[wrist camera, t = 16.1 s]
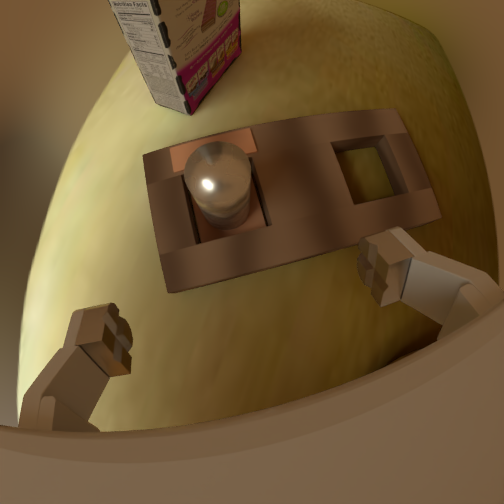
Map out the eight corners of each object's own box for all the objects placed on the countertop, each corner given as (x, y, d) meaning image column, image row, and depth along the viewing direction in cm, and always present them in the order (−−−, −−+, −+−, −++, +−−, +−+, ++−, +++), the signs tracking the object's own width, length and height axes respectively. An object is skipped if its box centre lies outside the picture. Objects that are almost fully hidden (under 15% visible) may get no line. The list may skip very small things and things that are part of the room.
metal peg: (209, 236, 24) (192, 210, 16) (198, 193, 25) (178, 151, 17) (255, 222, 24) (259, 191, 16) (242, 180, 25) (240, 134, 17)
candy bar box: (206, 43, 28) (191, -67, 11) (242, 53, 27) (242, -66, 11) (151, 105, 26) (97, -15, 10) (190, 118, 26) (151, -19, 10)
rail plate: (175, 293, 24) (167, 293, 21) (150, 166, 25) (141, 153, 22) (428, 223, 25) (443, 217, 22) (386, 120, 27) (396, 107, 24)
